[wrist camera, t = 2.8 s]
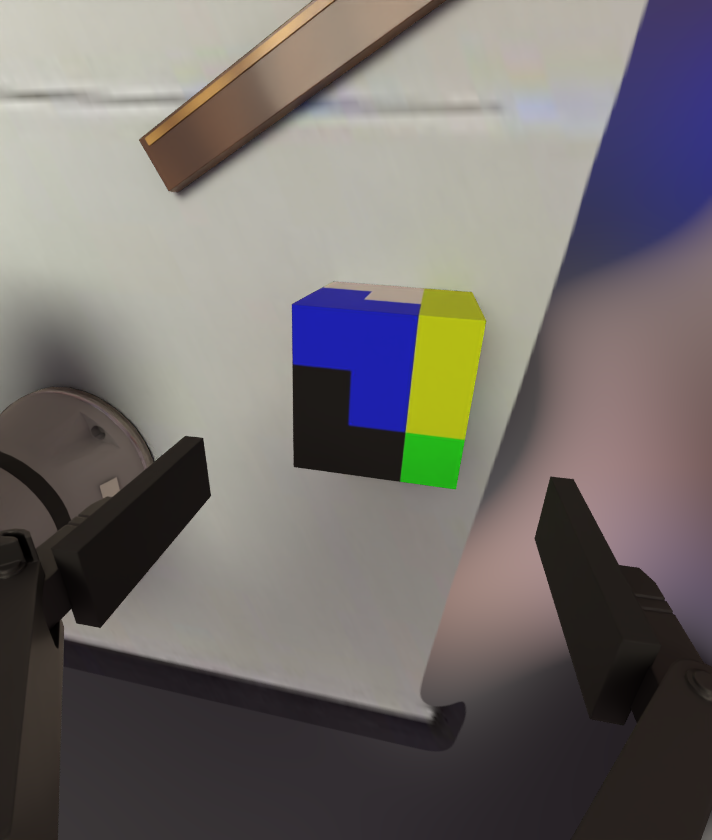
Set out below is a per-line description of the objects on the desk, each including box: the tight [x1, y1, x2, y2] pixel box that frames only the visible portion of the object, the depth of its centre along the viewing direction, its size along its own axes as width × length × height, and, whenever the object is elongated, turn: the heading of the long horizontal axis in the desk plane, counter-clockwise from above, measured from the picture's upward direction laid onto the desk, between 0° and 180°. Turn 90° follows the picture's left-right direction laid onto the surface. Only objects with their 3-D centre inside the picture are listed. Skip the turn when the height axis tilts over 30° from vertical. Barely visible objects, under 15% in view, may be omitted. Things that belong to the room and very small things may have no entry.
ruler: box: [139, 0, 446, 192], centre depth 25 cm, size 28×4×1 cm, turn 118°
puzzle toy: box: [292, 281, 486, 489], centre depth 29 cm, size 10×10×10 cm
